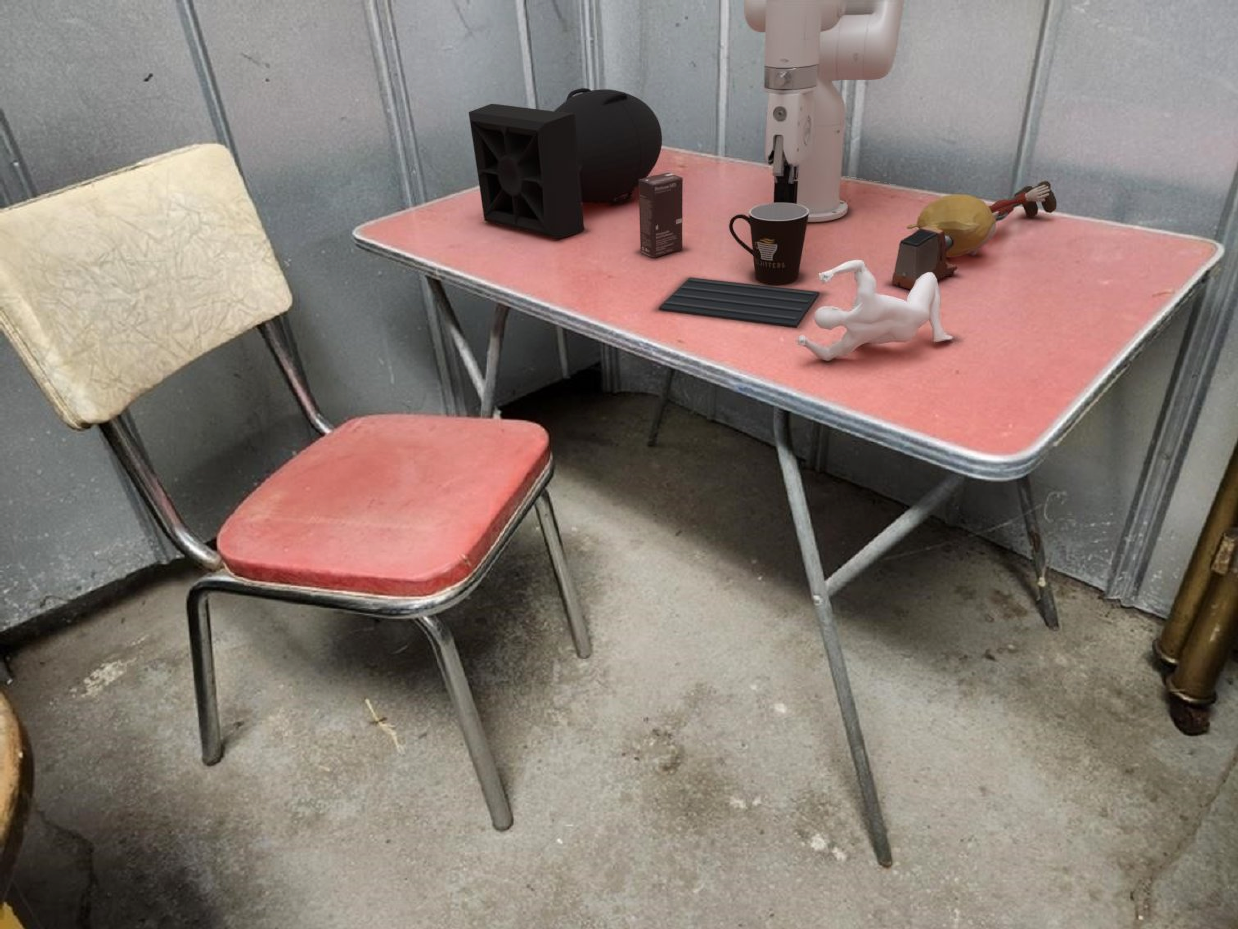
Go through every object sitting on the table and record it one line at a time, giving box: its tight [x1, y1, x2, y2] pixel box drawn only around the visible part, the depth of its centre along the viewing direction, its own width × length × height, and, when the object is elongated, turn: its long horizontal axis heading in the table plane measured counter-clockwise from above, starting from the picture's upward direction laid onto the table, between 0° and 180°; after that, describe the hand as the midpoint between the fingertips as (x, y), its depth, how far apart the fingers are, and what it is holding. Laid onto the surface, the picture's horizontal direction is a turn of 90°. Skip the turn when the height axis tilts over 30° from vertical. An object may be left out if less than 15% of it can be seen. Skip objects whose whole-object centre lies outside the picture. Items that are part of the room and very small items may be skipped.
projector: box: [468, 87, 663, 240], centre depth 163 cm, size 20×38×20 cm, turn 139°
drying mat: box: [658, 277, 820, 328], centre depth 125 cm, size 12×20×1 cm, turn 65°
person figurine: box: [796, 259, 954, 362], centre depth 106 cm, size 13×13×18 cm
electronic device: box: [891, 226, 958, 291], centre depth 125 cm, size 4×10×8 cm, turn 127°
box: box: [638, 172, 684, 258], centre depth 141 cm, size 6×4×12 cm
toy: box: [906, 180, 1058, 258], centre depth 137 cm, size 22×10×30 cm
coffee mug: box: [728, 202, 809, 286], centre depth 130 cm, size 12×9×10 cm
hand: (784, 207), depth 133 cm, fingers closed
